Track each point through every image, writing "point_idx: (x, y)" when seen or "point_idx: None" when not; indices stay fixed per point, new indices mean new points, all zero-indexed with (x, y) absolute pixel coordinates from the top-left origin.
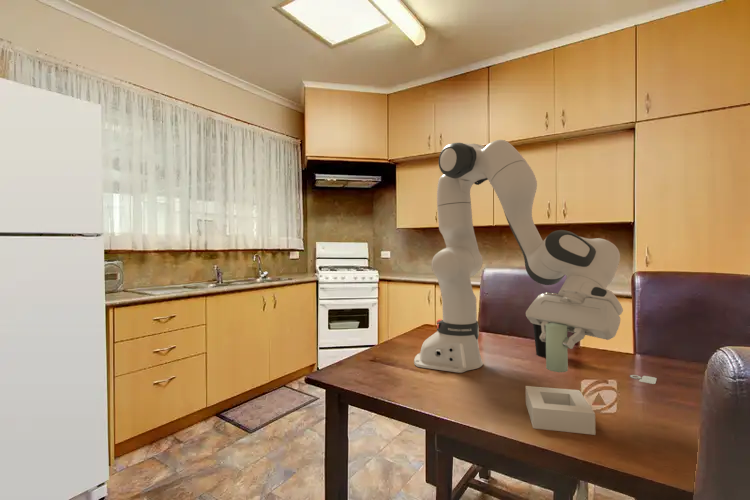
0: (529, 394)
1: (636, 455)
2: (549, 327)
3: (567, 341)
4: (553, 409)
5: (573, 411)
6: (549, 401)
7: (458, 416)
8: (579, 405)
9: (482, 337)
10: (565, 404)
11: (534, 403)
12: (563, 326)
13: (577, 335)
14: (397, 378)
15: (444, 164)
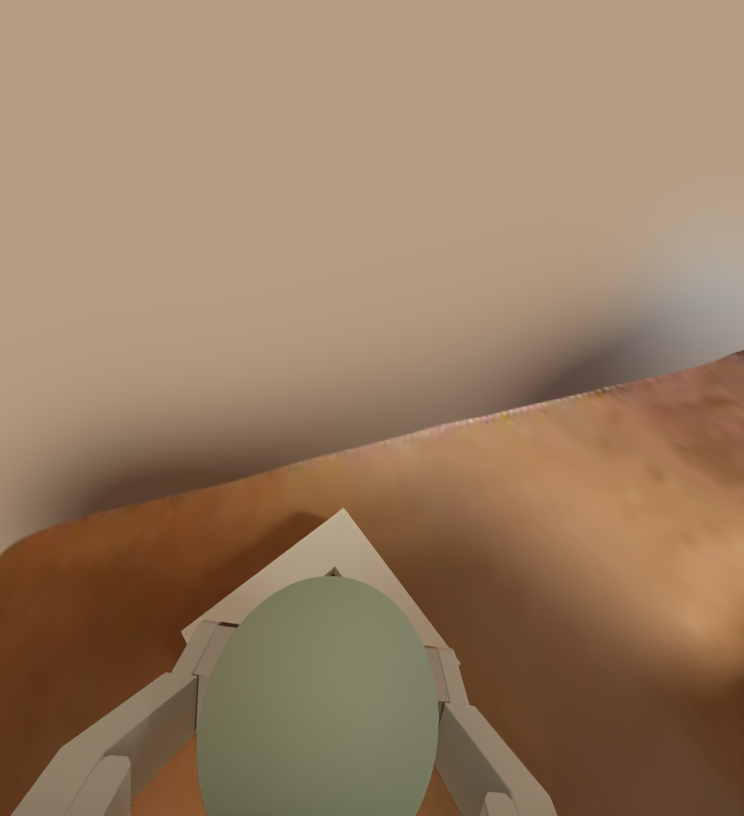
0: (403, 593)
1: (93, 605)
2: (347, 578)
3: (212, 638)
4: (296, 545)
5: (244, 584)
6: None
7: (477, 439)
8: None
9: None
10: None
11: (355, 539)
12: (232, 709)
13: (103, 725)
14: (731, 482)
15: None
